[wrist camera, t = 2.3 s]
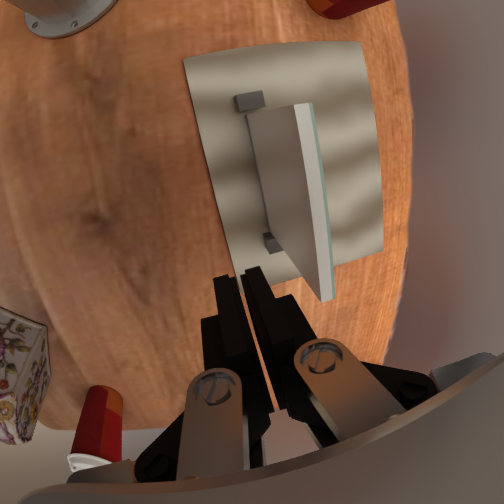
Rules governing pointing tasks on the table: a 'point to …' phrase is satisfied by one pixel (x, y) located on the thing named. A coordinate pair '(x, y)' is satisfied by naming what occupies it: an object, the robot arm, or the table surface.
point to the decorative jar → (21, 376)
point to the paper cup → (341, 7)
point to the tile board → (329, 134)
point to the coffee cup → (98, 430)
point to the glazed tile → (295, 190)
